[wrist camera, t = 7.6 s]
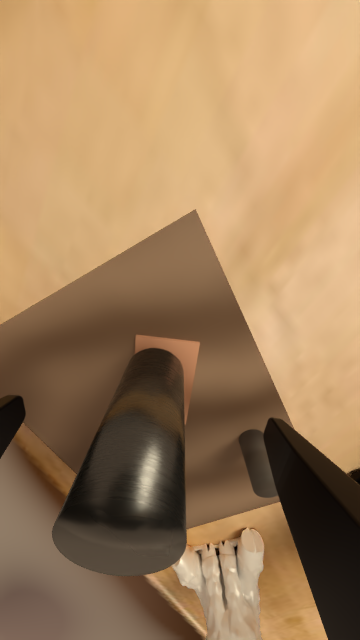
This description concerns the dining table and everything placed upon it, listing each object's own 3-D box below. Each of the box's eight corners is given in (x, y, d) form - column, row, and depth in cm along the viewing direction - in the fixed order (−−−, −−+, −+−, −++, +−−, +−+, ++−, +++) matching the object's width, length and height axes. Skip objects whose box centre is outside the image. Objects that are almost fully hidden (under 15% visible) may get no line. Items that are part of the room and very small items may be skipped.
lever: (167, 538, 17) (157, 737, 10) (125, 536, 17) (86, 734, 10) (193, 337, 11) (214, 507, 4) (126, 331, 11) (21, 493, 4)
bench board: (309, 469, 17) (351, 542, 13) (148, 520, 20) (139, 594, 16) (193, 214, 11) (201, 192, 6) (-24, 342, 13) (-120, 387, 9)
